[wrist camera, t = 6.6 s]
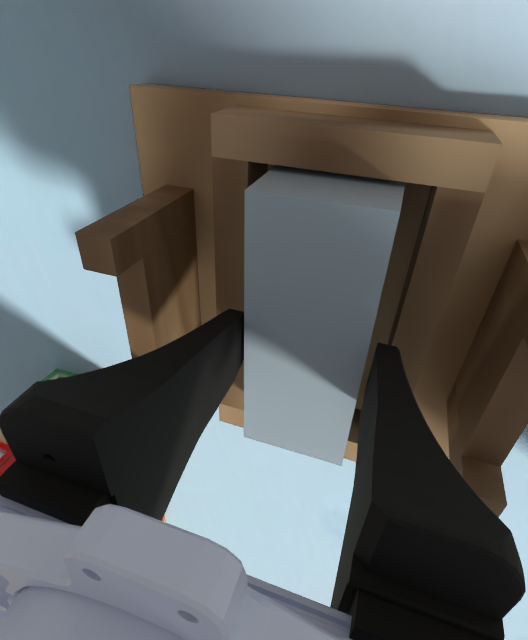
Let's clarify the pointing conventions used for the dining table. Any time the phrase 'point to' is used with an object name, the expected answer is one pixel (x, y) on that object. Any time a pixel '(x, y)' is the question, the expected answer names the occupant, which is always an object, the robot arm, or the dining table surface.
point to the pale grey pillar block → (312, 302)
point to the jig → (405, 259)
